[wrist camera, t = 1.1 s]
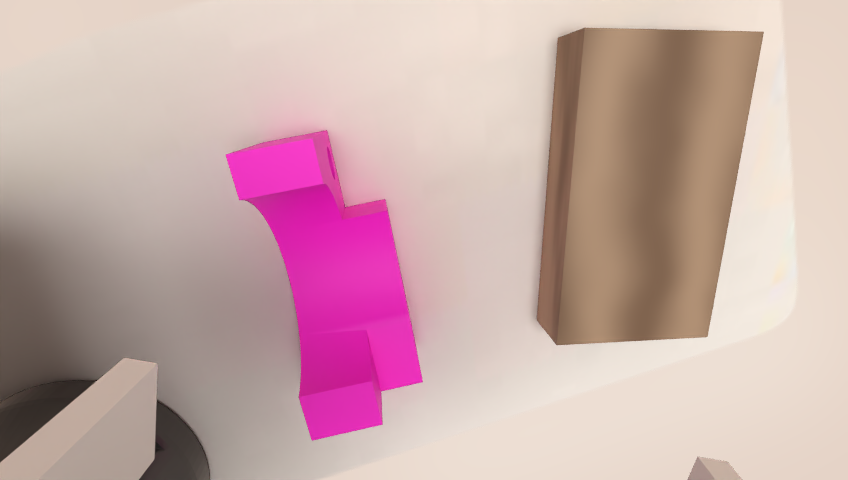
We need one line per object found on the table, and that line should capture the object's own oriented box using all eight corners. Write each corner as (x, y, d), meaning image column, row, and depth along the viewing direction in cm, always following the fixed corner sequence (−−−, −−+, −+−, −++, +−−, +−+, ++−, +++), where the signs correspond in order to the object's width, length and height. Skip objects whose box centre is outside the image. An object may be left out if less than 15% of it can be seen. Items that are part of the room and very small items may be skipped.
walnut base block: (534, 317, 33) (556, 345, 29) (554, 38, 28) (584, 27, 24) (668, 310, 34) (707, 336, 30) (711, 42, 29) (763, 31, 25)
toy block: (415, 344, 32) (428, 413, 25) (325, 364, 31) (311, 440, 24) (369, 122, 28) (369, 127, 20) (263, 142, 27) (225, 154, 20)
